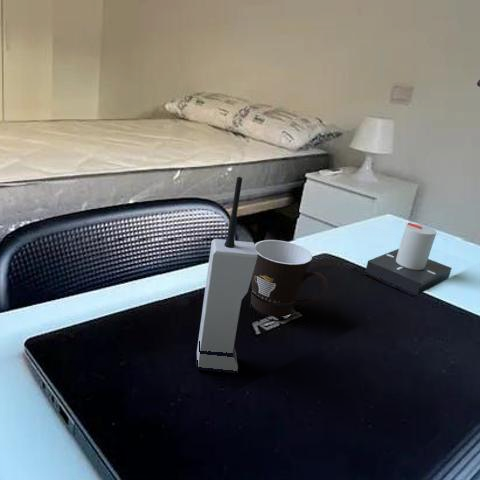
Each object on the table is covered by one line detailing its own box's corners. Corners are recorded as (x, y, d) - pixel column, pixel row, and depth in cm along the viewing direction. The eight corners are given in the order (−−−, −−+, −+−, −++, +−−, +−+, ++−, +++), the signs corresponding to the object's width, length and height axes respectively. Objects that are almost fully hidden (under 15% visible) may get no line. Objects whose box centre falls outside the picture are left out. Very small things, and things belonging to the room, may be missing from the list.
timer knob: (429, 266, 92) (442, 229, 89) (416, 272, 89) (429, 234, 86) (403, 256, 95) (414, 220, 92) (390, 261, 92) (401, 224, 89)
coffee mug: (233, 299, 80) (242, 242, 76) (277, 292, 84) (288, 237, 80) (275, 339, 71) (288, 277, 67) (323, 330, 74) (338, 270, 70)
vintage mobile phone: (236, 375, 62) (270, 184, 53) (197, 371, 62) (223, 179, 53) (234, 357, 66) (265, 174, 56) (196, 354, 66) (221, 170, 56)
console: (447, 282, 93) (452, 267, 92) (416, 298, 86) (421, 282, 85) (396, 261, 100) (400, 247, 99) (364, 274, 93) (368, 259, 92)
